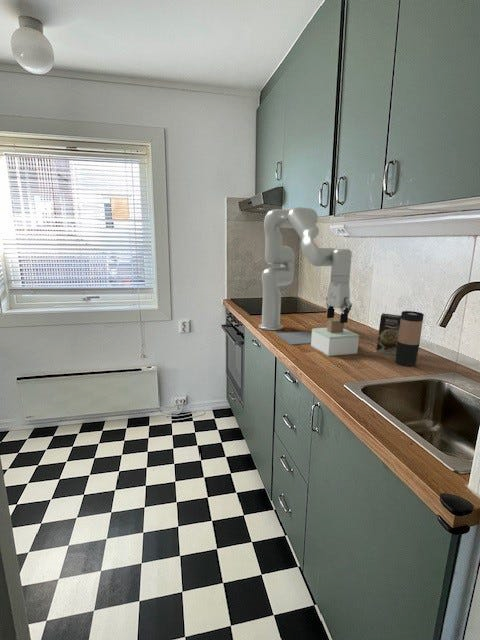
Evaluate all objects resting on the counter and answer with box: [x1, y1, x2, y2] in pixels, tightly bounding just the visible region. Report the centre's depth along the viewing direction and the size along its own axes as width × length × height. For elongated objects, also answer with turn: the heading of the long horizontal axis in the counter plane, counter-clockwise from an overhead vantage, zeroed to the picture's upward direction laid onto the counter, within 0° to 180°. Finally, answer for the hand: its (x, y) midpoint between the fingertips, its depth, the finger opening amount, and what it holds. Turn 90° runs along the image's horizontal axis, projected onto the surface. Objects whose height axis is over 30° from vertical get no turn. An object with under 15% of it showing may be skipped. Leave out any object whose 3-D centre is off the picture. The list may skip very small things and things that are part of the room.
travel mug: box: [395, 310, 425, 367], centre depth 131 cm, size 8×8×20 cm
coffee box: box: [375, 312, 401, 356], centre depth 144 cm, size 9×6×16 cm
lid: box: [311, 318, 360, 339], centre depth 146 cm, size 14×14×7 cm
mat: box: [274, 331, 312, 346], centre depth 164 cm, size 18×18×1 cm
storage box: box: [310, 330, 360, 357], centre depth 147 cm, size 14×14×7 cm
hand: (336, 320), depth 145 cm, fingers open, 9 cm apart
